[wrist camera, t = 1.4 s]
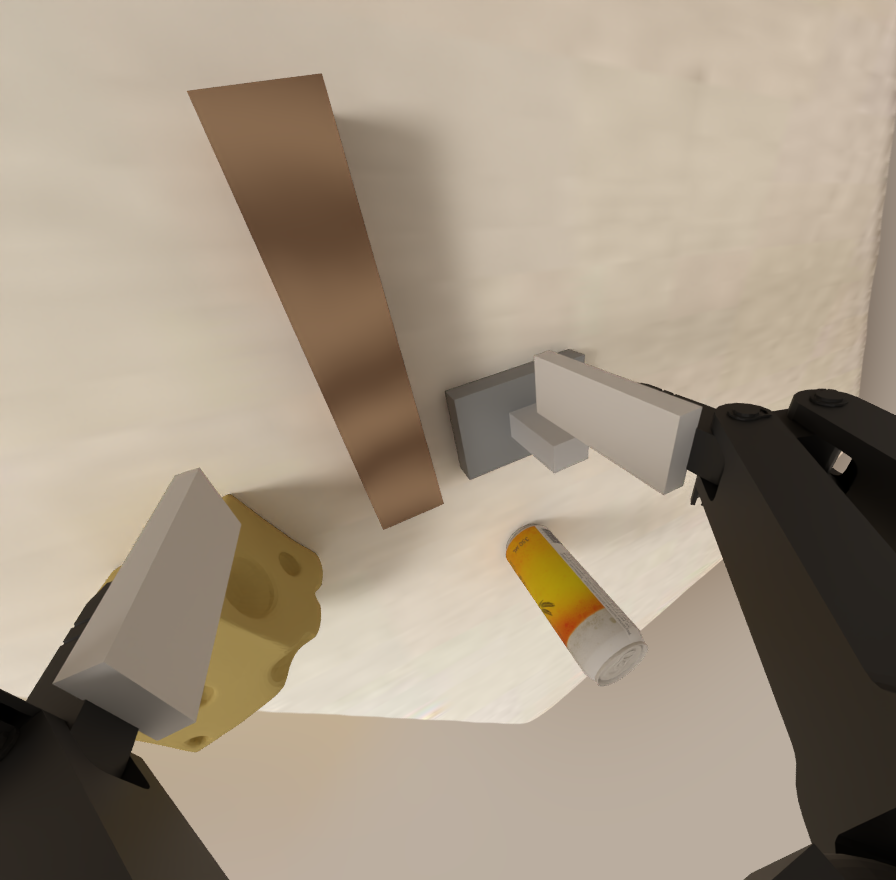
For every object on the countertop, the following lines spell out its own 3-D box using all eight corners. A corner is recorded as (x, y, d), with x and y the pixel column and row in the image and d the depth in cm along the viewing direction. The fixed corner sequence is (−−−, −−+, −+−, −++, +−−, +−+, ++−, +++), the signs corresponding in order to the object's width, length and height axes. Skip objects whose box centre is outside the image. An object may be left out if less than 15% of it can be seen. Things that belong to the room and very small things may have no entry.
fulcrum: (444, 391, 27) (490, 434, 21) (569, 349, 30) (644, 376, 23) (460, 468, 31) (503, 524, 25) (567, 425, 34) (631, 466, 27)
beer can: (493, 558, 40) (580, 694, 27) (518, 517, 38) (623, 643, 26) (530, 561, 43) (623, 684, 30) (554, 523, 41) (663, 638, 29)
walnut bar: (214, 131, 16) (186, 90, 12) (316, 115, 17) (321, 73, 13) (371, 491, 29) (383, 529, 25) (424, 470, 30) (443, 503, 26)
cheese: (322, 554, 30) (331, 664, 22) (220, 625, 30) (191, 765, 22) (227, 483, 24) (190, 600, 16) (98, 571, 24) (-8, 737, 16)
